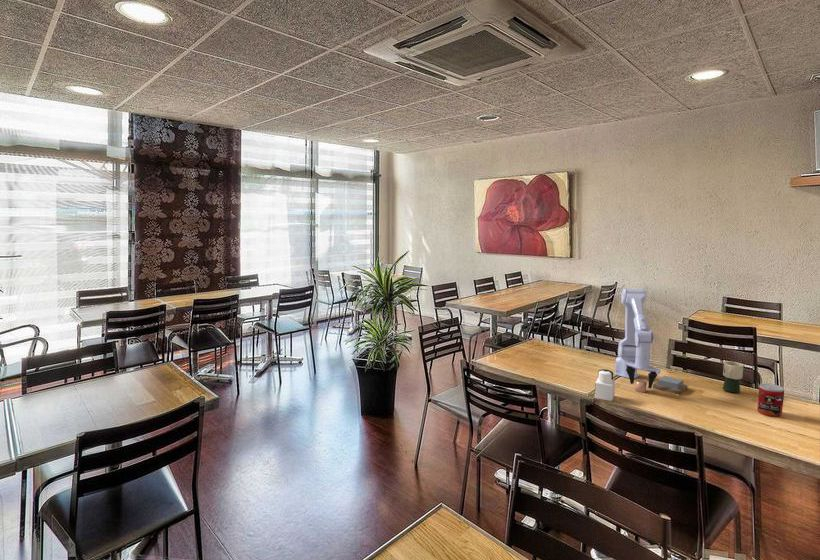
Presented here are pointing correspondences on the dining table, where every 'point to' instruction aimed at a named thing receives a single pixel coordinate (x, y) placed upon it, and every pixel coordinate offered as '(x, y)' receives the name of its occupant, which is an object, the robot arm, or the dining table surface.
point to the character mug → (732, 376)
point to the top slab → (670, 382)
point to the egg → (640, 386)
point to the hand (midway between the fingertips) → (640, 385)
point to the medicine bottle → (605, 385)
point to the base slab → (670, 390)
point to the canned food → (770, 400)
